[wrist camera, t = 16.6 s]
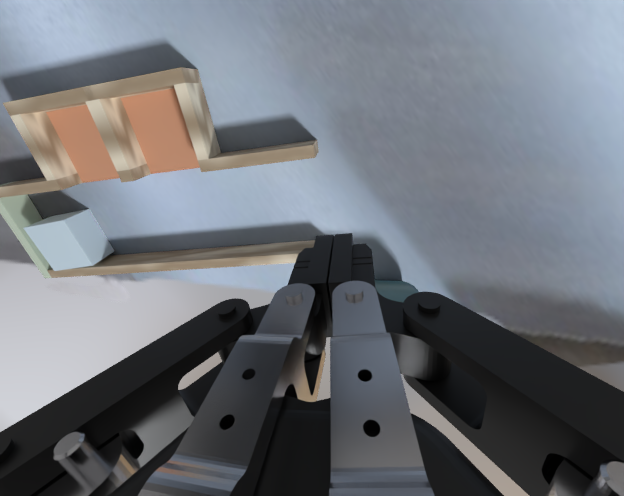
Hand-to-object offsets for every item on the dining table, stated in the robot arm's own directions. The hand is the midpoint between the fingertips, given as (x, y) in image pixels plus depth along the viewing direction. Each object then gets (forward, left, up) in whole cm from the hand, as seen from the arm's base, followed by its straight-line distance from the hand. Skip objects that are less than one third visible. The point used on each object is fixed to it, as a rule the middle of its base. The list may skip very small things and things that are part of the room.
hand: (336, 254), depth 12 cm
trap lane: (+2, -29, -29) cm, 41 cm away
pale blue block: (+9, -46, -29) cm, 55 cm away
